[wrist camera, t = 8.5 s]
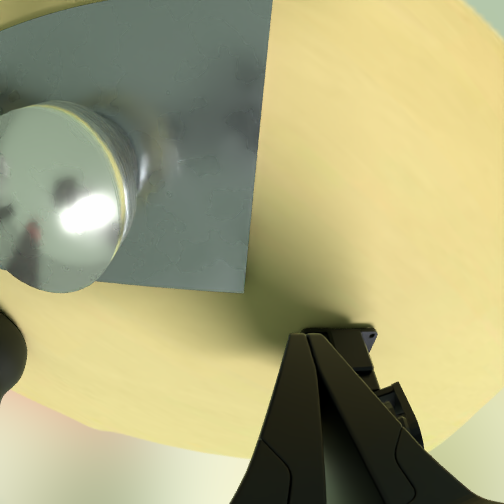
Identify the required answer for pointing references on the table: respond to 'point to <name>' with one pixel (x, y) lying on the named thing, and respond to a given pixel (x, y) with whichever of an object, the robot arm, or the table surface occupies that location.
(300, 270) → the table surface
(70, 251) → the elbow
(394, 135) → the table surface
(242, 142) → the plate
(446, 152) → the table surface
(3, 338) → the cola bottle
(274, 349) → the table surface
